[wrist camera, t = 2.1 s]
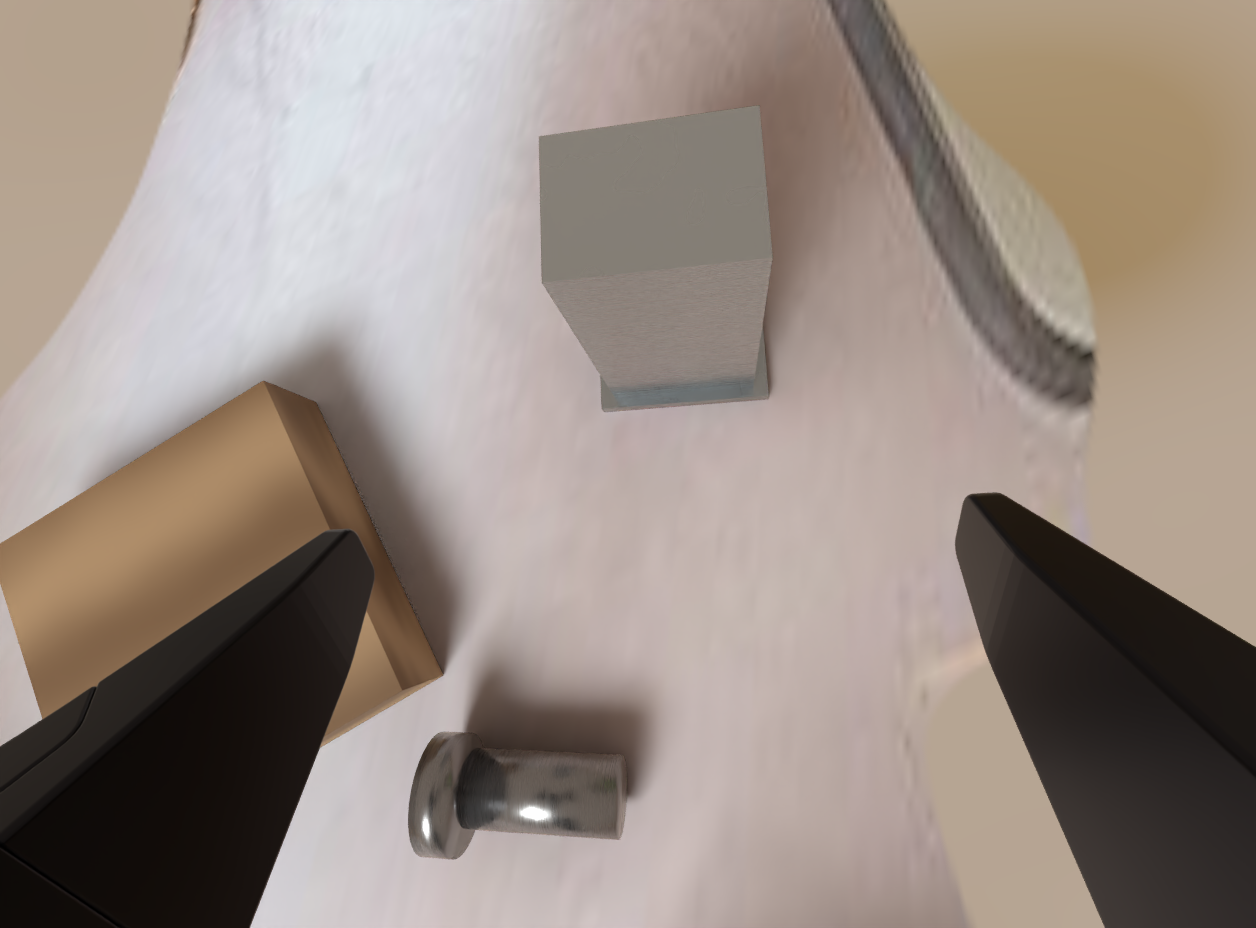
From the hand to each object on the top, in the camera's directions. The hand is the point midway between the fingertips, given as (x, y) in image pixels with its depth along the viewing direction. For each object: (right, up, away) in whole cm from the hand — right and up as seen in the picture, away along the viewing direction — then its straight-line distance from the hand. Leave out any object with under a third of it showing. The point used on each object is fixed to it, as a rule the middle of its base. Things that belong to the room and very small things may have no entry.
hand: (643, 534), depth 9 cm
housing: (+2, +5, +14) cm, 15 cm away
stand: (-15, -5, +15) cm, 22 cm away
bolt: (-3, -10, +12) cm, 16 cm away
